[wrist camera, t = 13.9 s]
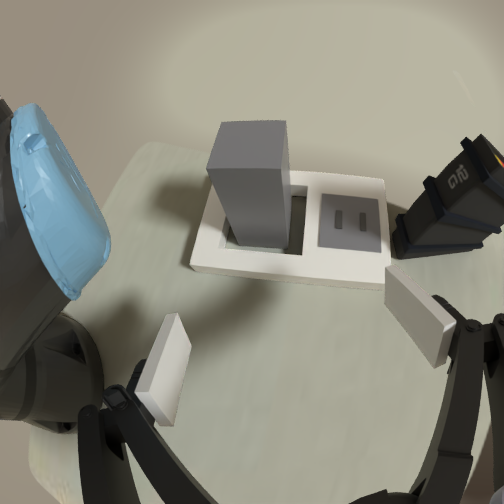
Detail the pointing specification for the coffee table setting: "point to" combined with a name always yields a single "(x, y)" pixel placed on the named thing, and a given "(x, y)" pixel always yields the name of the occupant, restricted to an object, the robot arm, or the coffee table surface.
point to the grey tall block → (253, 181)
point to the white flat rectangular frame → (311, 236)
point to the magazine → (455, 205)
